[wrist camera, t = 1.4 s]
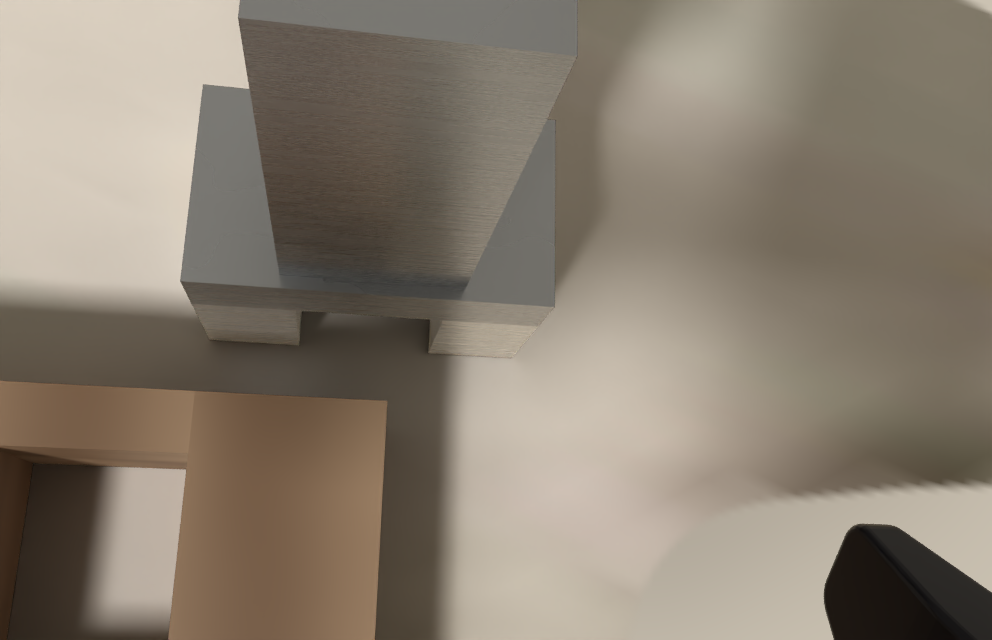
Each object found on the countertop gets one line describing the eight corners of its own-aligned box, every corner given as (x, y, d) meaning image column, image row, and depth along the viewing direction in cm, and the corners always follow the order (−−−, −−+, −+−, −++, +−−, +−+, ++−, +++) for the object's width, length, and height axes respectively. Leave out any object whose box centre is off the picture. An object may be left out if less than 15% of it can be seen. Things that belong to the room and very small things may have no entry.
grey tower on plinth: (514, 202, 24) (719, -207, 11) (511, 357, 23) (734, 94, 10) (226, 177, 23) (103, -307, 10) (209, 339, 21) (49, 19, 9)
